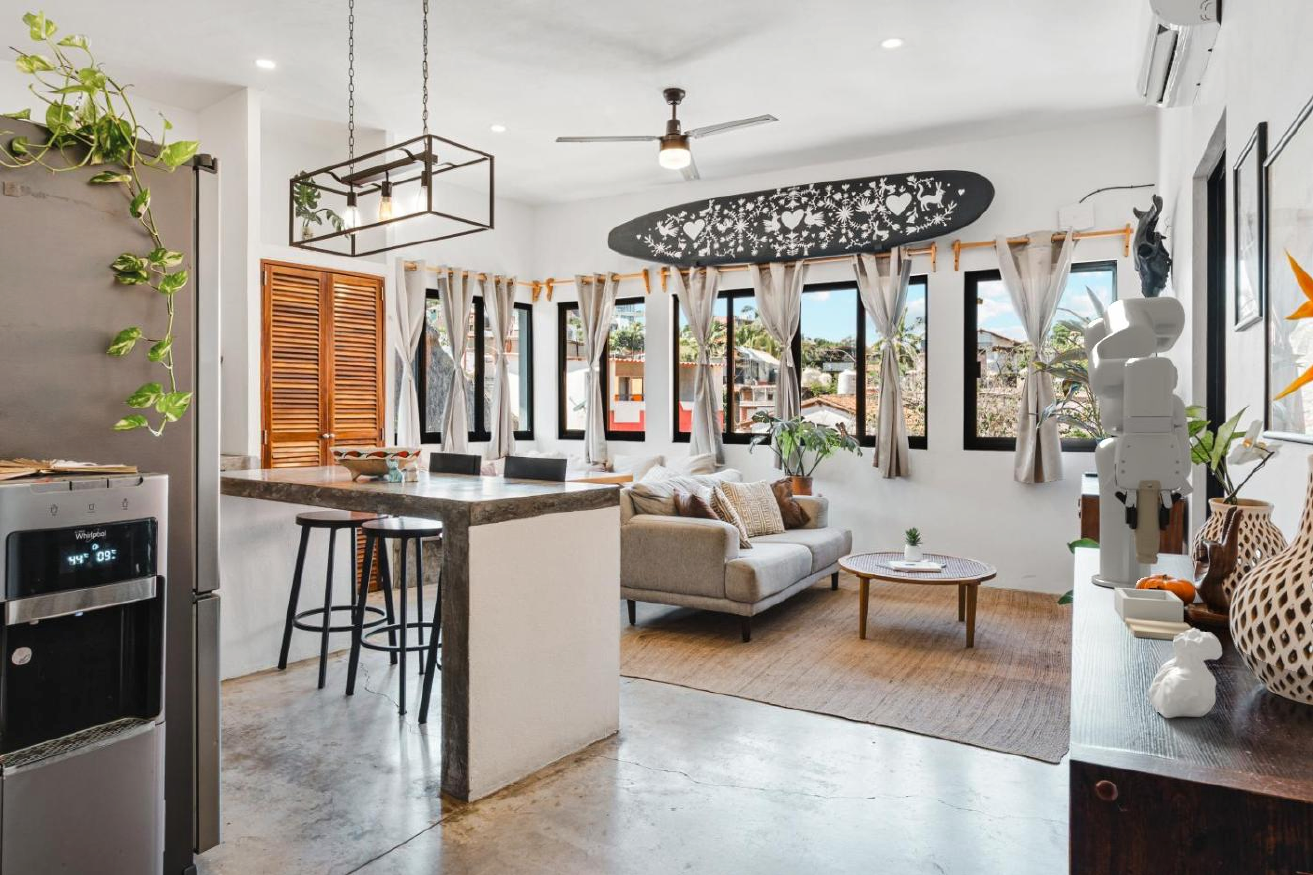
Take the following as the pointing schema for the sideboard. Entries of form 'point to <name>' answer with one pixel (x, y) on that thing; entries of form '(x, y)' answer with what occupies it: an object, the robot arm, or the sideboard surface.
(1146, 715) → the sideboard surface
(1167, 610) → the white open box
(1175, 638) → the white tied sack
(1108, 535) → the robot arm
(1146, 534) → the handle
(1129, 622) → the oak board
